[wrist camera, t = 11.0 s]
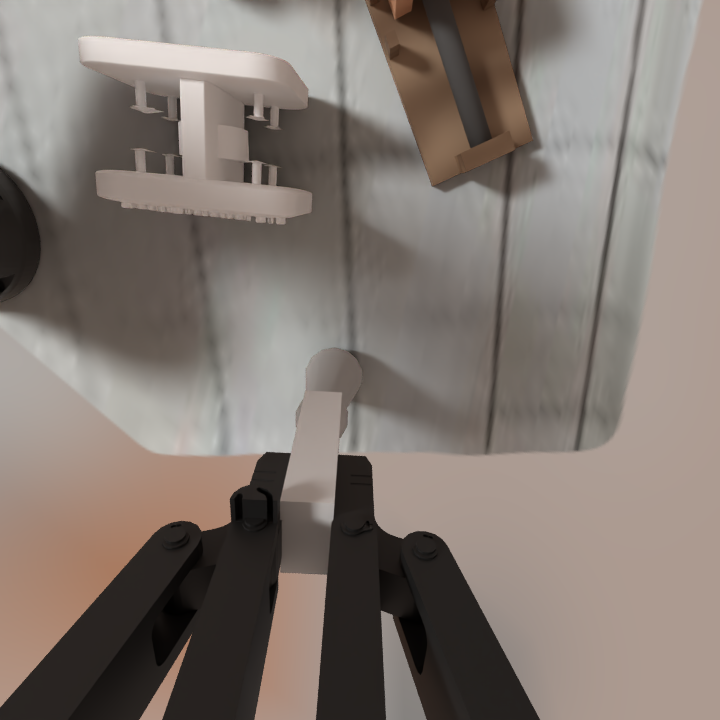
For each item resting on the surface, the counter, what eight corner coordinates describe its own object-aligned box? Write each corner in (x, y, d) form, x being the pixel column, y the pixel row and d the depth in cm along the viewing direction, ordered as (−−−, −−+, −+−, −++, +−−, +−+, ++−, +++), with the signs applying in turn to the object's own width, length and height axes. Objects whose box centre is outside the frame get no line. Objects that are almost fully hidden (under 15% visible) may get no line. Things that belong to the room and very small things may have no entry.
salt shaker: (371, 381, 48) (367, 444, 36) (323, 399, 49) (303, 467, 37) (349, 333, 47) (337, 382, 34) (300, 353, 48) (271, 407, 35)
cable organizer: (322, 92, 39) (298, 53, 28) (314, 218, 43) (290, 227, 32) (152, 74, 39) (63, 28, 29) (158, 201, 43) (82, 204, 32)
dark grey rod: (495, 158, 38) (500, 156, 36) (474, 167, 38) (478, 166, 37) (412, -106, 33) (414, -122, 31) (389, -92, 33) (389, -108, 31)
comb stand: (528, 141, 40) (546, 135, 35) (432, 186, 41) (437, 185, 37) (432, -195, 33) (439, -254, 28) (320, -125, 34) (310, -171, 30)
